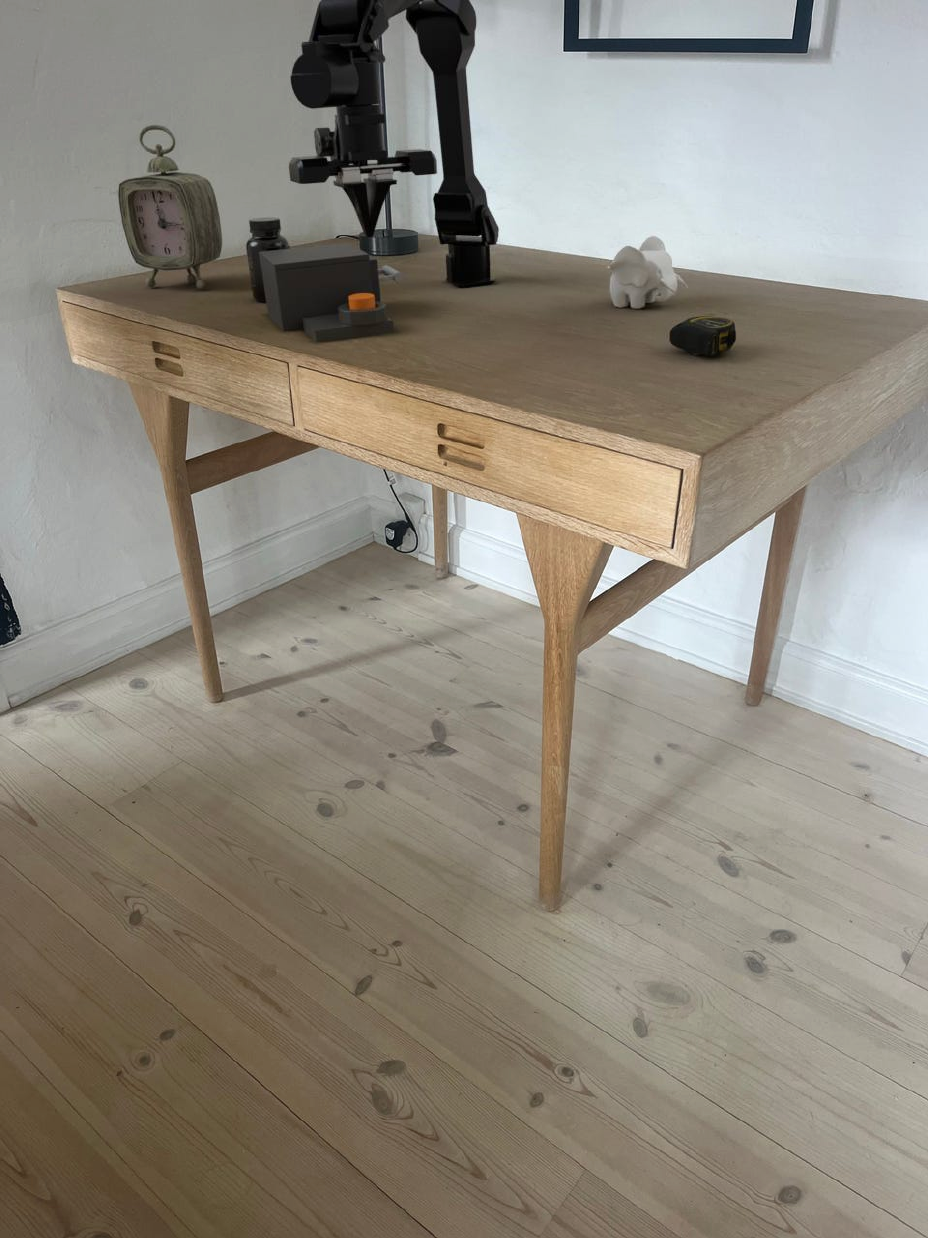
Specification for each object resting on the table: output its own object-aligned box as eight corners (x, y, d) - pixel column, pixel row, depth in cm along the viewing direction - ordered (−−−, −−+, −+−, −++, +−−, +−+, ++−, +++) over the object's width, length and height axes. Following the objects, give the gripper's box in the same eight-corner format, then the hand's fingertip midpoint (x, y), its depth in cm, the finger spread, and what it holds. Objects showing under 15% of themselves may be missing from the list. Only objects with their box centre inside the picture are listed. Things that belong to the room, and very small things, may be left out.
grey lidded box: (354, 304, 144) (347, 242, 139) (375, 319, 134) (369, 254, 130) (267, 314, 140) (258, 251, 135) (283, 331, 130) (274, 264, 126)
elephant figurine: (668, 316, 129) (673, 249, 125) (591, 308, 135) (593, 244, 130) (693, 301, 136) (699, 237, 131) (619, 294, 142) (622, 233, 137)
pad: (377, 320, 134) (375, 295, 132) (395, 333, 127) (393, 307, 125) (303, 330, 131) (300, 304, 129) (318, 344, 124) (314, 317, 122)
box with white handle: (388, 294, 144) (384, 245, 140) (409, 307, 136) (405, 255, 132) (283, 307, 139) (276, 257, 136) (298, 322, 131) (291, 268, 127)
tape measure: (665, 352, 114) (667, 321, 112) (703, 341, 117) (706, 311, 115) (706, 363, 109) (709, 331, 107) (745, 352, 112) (749, 321, 110)
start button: (371, 304, 129) (370, 291, 128) (378, 309, 126) (377, 296, 125) (346, 307, 128) (345, 294, 127) (353, 313, 125) (352, 299, 124)
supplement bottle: (287, 303, 146) (276, 222, 140) (247, 302, 147) (234, 222, 141) (301, 293, 152) (292, 215, 146) (263, 293, 153) (251, 215, 147)
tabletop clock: (136, 289, 160) (101, 127, 147) (168, 278, 167) (138, 123, 154) (205, 292, 155) (175, 126, 142) (235, 282, 162) (209, 121, 149)
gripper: (405, 101, 126) (412, 224, 134) (271, 107, 120) (287, 235, 128) (435, 102, 117) (441, 233, 125) (292, 109, 111) (308, 246, 119)
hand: (369, 236), depth 124 cm, fingers closed
